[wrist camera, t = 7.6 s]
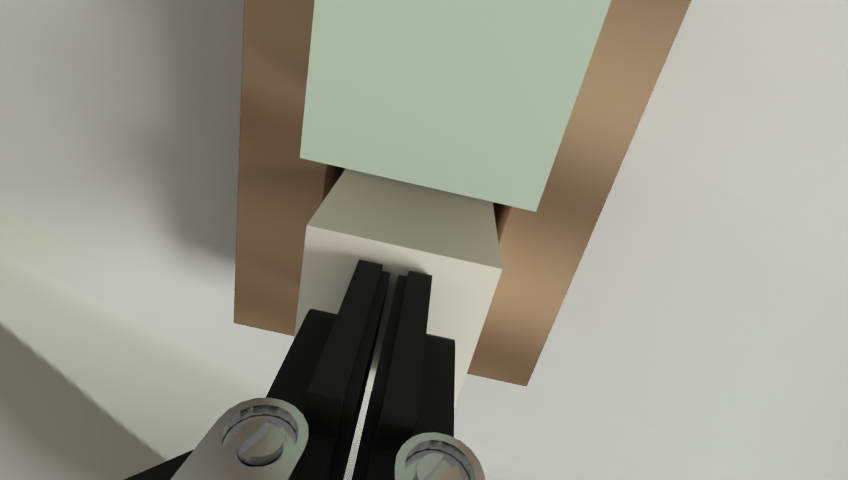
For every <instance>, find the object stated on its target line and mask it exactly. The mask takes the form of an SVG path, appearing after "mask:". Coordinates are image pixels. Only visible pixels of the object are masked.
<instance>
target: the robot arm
mask: <svg viewBox="0 0 848 480" xmlns="http://www.w3.org/2000/svg"><path fill="white" fill-rule="evenodd" d="M382 268H383V264H378V263H374V262H369V261H365V260H360V259H359V261H358V263H357V266H356V268H355V271H354V273H353V276H352V278H351V281H350V283H349V286H348V289H347V291H346V294H345V296H344V299H343V301H342V304H341V306H340V309H339V312H338V314H334V313H329V312H325V311H320V310H316V309H310V310H309V311H308V313H307V314H306V316H305V319H304V321H303V323H302V325H301V327H300V329H299V331H298V333H297V335H296V337H295V339H294V341H293V343H292V345H291V347H290V349H289V351H288V353H287V355H286V357H285V359H284V362H283V364H282V366H281V368H280V370H279V372H278V374H277V376H276V378H275V380H274V382H273V384H272V386H271V388H270V390H269V392H268V394H267V396H266V398H255V399H251V400H248V401H244V402H241V403H239V404H237V405H236V406H234V407H232V408H230V409H228V410H227V411H226V412H225V413H224V414H223V415H222V416H221V417H220V418H219V419H218V420H217V421H216V423H215V424H214V425H213V427H212V428H211V429H210V430H209V432H208V433H207V434H206V435H205V437H204V438H203V439H202V440H201V442H200V443H199V444H198V445H197V447H196V448H195V449H194V450H192V451H190V452H187V453H185V454H183V455H180V456H178V457H176V458H173V459H171V460H169V461H166V462H164V463H162V464H160V465H157V466H155V467H153V468H150V469H148V470H146V471H143V472H141V473H139V474H137V475H134V476H132V477H129V478H127V479H125V480H343V478H344V474H345V470H346V466H347V462H348V458H349V454H350V450H351V446H352V442H353V438H354V434H355V430H356V425H357V421H358V417H359V413H360V409H361V405H362V401H363V397H364V393H365V389H366V385H367V381H368V377H369V372H370V368H371V364H372V359H373V354H374V350H375V345H376V340H377V335H378V331H379V326H380V321H381V317H382V312H383V307H384V303H385V298H386V293H387V289H388V284H389V279H390V274H391V273H389V272H385V271H382ZM431 285H432V275H428V274H423V273H419V272H414V271H410V270H409V272H408V276H403V275H398V278H397V282H396V287H395V291H394V295H393V300H392V304H391V308H390V313H389V317H388V322H387V326H386V330H385V335H384V339H383V343H382V348H381V352H380V356H379V361H378V365H377V370H376V374H375V378H374V383H373V387H372V391H371V396H370V400H369V405H368V409H367V414H366V418H365V423H364V427H363V432H362V436H361V441H360V445H359V450H358V454H357V459H356V463H355V468H354V472H353V477H352V480H485V477H484V473H483V470H482V467H481V465H480V462H479V460H478V459H477V457H476V456H475V455H474V453H473V452H472V450H471V449H469V448H468V447H467V446H466V445H465V444H463V443H462V442H461V441H459V440H457V439H455V438H454V389H455V340H454V339H449V338H445V337H440V336H435V335H431V334H426V332H427V323H428V313H429V304H430V294H431Z"/></svg>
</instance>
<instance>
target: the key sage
mask: <svg viewBox="0 0 848 480" xmlns="http://www.w3.org/2000/svg"><path fill="white" fill-rule="evenodd" d="M610 3H611V0H315V2H314V12H313V23H312V33H311V44H310V54H309V65H308V76H307V86H306V97H305V107H304V118H303V128H302V139H301V149H300V158H303V159H307V160H311V161H316V162H320V163H324V164H329V165H333V166H338V167H342V168H346V169H351V170H355V171H359V172H364V173H368V174H372V175H377V176H381V177H386V178H390V179H394V180H399V181H403V182H407V183H412V184H416V185H421V186H425V187H429V188H434V189H438V190H442V191H447V192H451V193H455V194H460V195H464V196H469V197H473V198H477V199H482V200H486V201H490V202H495V203H499V204H503V205H508V206H512V207H517V208H521V209H525V210H530V211H534V212H536V211H537V208H538V205H539V202H540V199H541V197H542V194H543V191H544V188H545V185H546V183H547V180H548V177H549V174H550V171H551V168H552V166H553V163H554V160H555V157H556V154H557V152H558V149H559V146H560V143H561V140H562V138H563V135H564V132H565V129H566V126H567V124H568V121H569V118H570V115H571V112H572V110H573V107H574V104H575V101H576V98H577V96H578V93H579V90H580V87H581V84H582V82H583V79H584V76H585V73H586V70H587V67H588V65H589V62H590V59H591V56H592V53H593V51H594V48H595V45H596V42H597V39H598V37H599V34H600V31H601V28H602V25H603V23H604V20H605V17H606V14H607V11H608V9H609V6H610Z"/></svg>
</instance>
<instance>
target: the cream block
mask: <svg viewBox="0 0 848 480" xmlns="http://www.w3.org/2000/svg"><path fill="white" fill-rule="evenodd" d="M359 259H360V260H365V261H369V262H374V263H378V264H383V268H382V271H385V272H389V273H391V274H390V279H389V284H388V289H387V293H386V298H385V303H384V307H383V312H382V317H381V321H380V326H379V331H378V335H377V340H376V345H375V350H374V354H373V359H372V364H371V368H370V372H369V377H368V381H367V385H366V389H365V390H369V391H372V387H373V383H374V378H375V374H376V370H377V365H378V361H379V356H380V352H381V348H382V343H383V339H384V335H385V330H386V326H387V322H388V317H389V313H390V308H391V304H392V300H393V295H394V291H395V287H396V282H397V278H398V275H403V276H408V272H409V270H410V271H414V272H419V273H423V274H428V275H432V285H431V294H430V304H429V313H428V323H427V332H426V334H431V335H435V336H440V337H445V338H449V339H454V340H455V389H454V409H455V407H456V404H457V401H458V398H459V395H460V392H461V389H462V386H463V383H464V380H465V377H466V374H467V372H468V369H469V366H470V363H471V360H472V357H473V354H474V351H475V348H476V345H477V342H478V339H479V336H480V333H481V331H482V328H483V325H484V322H485V319H486V316H487V313H488V310H489V307H490V304H491V301H492V298H493V295H494V292H495V289H496V287H497V284H498V281H499V278H500V275H501V272H502V263H501V256H500V249H499V242H498V235H497V229H496V222H495V215H494V208H493V202H490V201H486V200H482V199H477V198H473V197H469V196H464V195H460V194H455V193H451V192H447V191H442V190H438V189H434V188H429V187H425V186H421V185H416V184H412V183H407V182H403V181H399V180H394V179H390V178H386V177H381V176H377V175H372V174H368V173H364V172H359V171H355V170H351V169H345V170H344V172H343V173H342V175H341V176H340V178H339V179H338V180H337V182H336V183H335V185H334V186H333V188H332V189H331V191H330V192H329V194H328V195H327V196H326V198H325V199H324V201H323V202H322V204H321V205H320V207H319V208H318V209H317V211H316V212H315V214H314V215H313V217H312V218H311V220H310V221H309V222H308V224H307V226H306V235H305V244H304V253H303V263H302V272H301V281H300V290H299V299H298V308H297V317H296V326H295V336H294V339H295V337H296V335H297V333H298V331H299V329H300V327H301V325H302V323H303V321H304V319H305V316H306V314H307V313H308V311H309V310H310V309H316V310H320V311H325V312H329V313H334V314H338V312H339V309H340V306H341V304H342V301H343V299H344V296H345V294H346V291H347V289H348V286H349V283H350V281H351V278H352V276H353V273H354V271H355V268H356V266H357V263H358V261H359Z"/></svg>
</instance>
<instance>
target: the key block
mask: <svg viewBox="0 0 848 480" xmlns="http://www.w3.org/2000/svg"><path fill="white" fill-rule="evenodd" d="M314 2H315V0H244V28H243V58H242V89H241V119H240V149H239V179H238V210H237V240H236V270H235V300H234V323H237V324H241V325H246V326H250V327H255V328H260V329H264V330H269V331H273V332H278V333H283V334H287V335H292V336H295V326H296V317H297V308H298V299H299V290H300V281H301V272H302V263H303V253H304V244H305V235H306V226H307V224H308V222H309V221H310V220H311V218H312V217H313V215H314V214H315V212H316V211H317V209H318V208H319V207H320V205H321V204H322V202H323V201H324V199H325V198H326V196H327V195H328V194H329V192H330V191H331V189H332V188H333V186H334V185H335V183H336V182H337V180H338V179H339V178H340V176H341V175H342V173H343V172H344V170H345V168H342V167H338V166H333V165H329V164H324V163H320V162H316V161H311V160H307V159H303V158H300V149H301V139H302V128H303V118H304V107H305V97H306V86H307V76H308V65H309V54H310V44H311V33H312V23H313V12H314ZM690 2H691V0H611V3H610V6H609V9H608V11H607V14H606V17H605V20H604V23H603V25H602V28H601V31H600V34H599V37H598V39H597V42H596V45H595V48H594V51H593V53H592V56H591V59H590V62H589V65H588V67H587V70H586V73H585V76H584V79H583V82H582V84H581V87H580V90H579V93H578V96H577V98H576V101H575V104H574V107H573V110H572V112H571V115H570V118H569V121H568V124H567V126H566V129H565V132H564V135H563V138H562V140H561V143H560V146H559V149H558V152H557V154H556V157H555V160H554V163H553V166H552V168H551V171H550V174H549V177H548V180H547V183H546V185H545V188H544V191H543V194H542V197H541V199H540V202H539V205H538V208H537V211H536V212H534V211H530V210H525V209H521V208H517V207H512V206H508V205H503V204H499V203H495V202H494V203H493V208H494V215H495V222H496V229H497V235H498V242H499V249H500V256H501V263H502V272H501V275H500V278H499V281H498V284H497V287H496V289H495V292H494V295H493V298H492V301H491V304H490V307H489V310H488V313H487V316H486V319H485V322H484V325H483V328H482V331H481V333H480V336H479V339H478V342H477V345H476V348H475V351H474V354H473V357H472V360H471V363H470V366H469V369H468V372H467V374H472V375H476V376H481V377H486V378H490V379H495V380H499V381H504V382H509V383H513V384H518V385H522V386H527V384H528V382H529V379H530V377H531V375H532V372H533V370H534V368H535V365H536V363H537V361H538V358H539V356H540V354H541V351H542V349H543V347H544V344H545V342H546V340H547V337H548V335H549V333H550V330H551V328H552V326H553V323H554V321H555V318H556V316H557V314H558V311H559V309H560V307H561V304H562V302H563V300H564V297H565V295H566V293H567V290H568V288H569V286H570V283H571V281H572V279H573V276H574V274H575V272H576V269H577V267H578V265H579V262H580V260H581V258H582V255H583V253H584V251H585V248H586V246H587V243H588V241H589V239H590V236H591V234H592V232H593V229H594V227H595V225H596V222H597V220H598V218H599V215H600V213H601V211H602V208H603V206H604V204H605V201H606V199H607V197H608V194H609V192H610V190H611V187H612V185H613V183H614V180H615V178H616V176H617V173H618V171H619V169H620V166H621V164H622V161H623V159H624V157H625V154H626V152H627V150H628V147H629V145H630V143H631V140H632V138H633V136H634V133H635V131H636V129H637V126H638V124H639V122H640V119H641V117H642V115H643V112H644V110H645V108H646V105H647V103H648V101H649V98H650V96H651V94H652V91H653V89H654V86H655V84H656V82H657V79H658V77H659V75H660V72H661V70H662V68H663V65H664V63H665V61H666V58H667V56H668V54H669V51H670V49H671V47H672V44H673V42H674V40H675V37H676V35H677V33H678V30H679V28H680V26H681V23H682V21H683V19H684V16H685V14H686V11H687V9H688V7H689V4H690Z"/></svg>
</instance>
